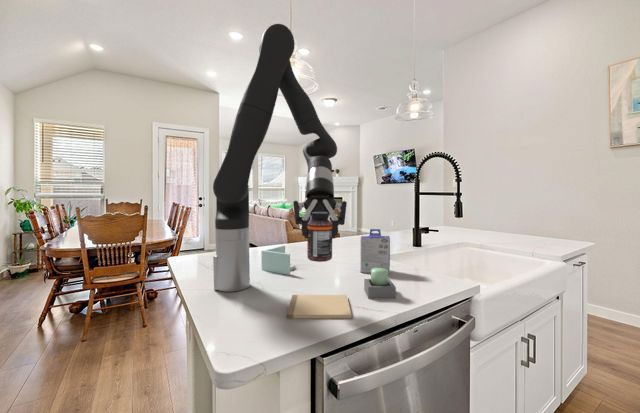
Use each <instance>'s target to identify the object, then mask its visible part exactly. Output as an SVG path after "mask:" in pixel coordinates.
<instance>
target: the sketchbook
mask: <svg viewBox="0 0 640 413" xmlns="http://www.w3.org/2000/svg"><path fill="white" fill-rule="evenodd" d="M289 301H290V302H289V305H288V310H287V313H286V319H352V311H351V307H350V304H349V300H348V294H292V295H291V299H290V300H289Z"/></svg>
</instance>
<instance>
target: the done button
mask: <svg viewBox="0 0 640 413" xmlns="http://www.w3.org/2000/svg"><path fill="white" fill-rule="evenodd" d="M388 275H389V274H388V270H387V269H385V268H372V269H371V273H370V279H371V283H372V284H374V285H387V284H388V279H389V276H388Z"/></svg>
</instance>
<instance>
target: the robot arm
mask: <svg viewBox="0 0 640 413" xmlns="http://www.w3.org/2000/svg"><path fill="white" fill-rule="evenodd" d="M295 46H296V44H295V38H294V35H293V32H292V30H291V29H289V27H288V26H286V25H285V24H282V23H274V24H271V25H270V26H268V27H267V28H266V29H265V30H264V31H263V33H262V36H261V40H260V41H259V47H258V51H259V56H258V59H257V63H256V66H255V69H254V72H253V74H252V76H251V78H250V79H249V82H248V85H247V87H246V89H245V90H244V93H243V96H242V98H241V100H240V104H239V107H238V109H237V112H236V116H235V119H234V122H233V125H232V126H233V127H232V130H231V134H230V139H229V144H228V147H227V148H228V149H227V151H226V153H225V156H224V158H223V161H222V163H221V165H220V167H219V169H218V171H217V174H216V176H215V178H214V179H213V184H212V190H213V193H214V194H213V195H214V196H215V198H216V199H215V200H216V204H215V206H216V210H215V220H214V224H215V226H214V227H215V228H214V229H215V230H214V232H215V233H214V234H215V255H213V257H212V258H213V259H212V260H213V264H212V265H213V266H212V267H213V290H214V291H220V292H225V293H226V292H229V293H232V292H237V291H243V290H245V289H247V288H249V287H250V286H251V277H250V276H251V275H250V274H251V272H250V268H251V267H250V266H251V264H250V197H249V196H250V189H249V188H250V187H249V182H250V174H251V173H252V172H251V171H252V167H253V163H254V160H255V158H256V155H257V153H258V152H259V149H260V148H261V146H262V144H263V142H264V140H265V138H266V135H267V133H268V130H269V127H270V124H271V120H272V117H273V114H274V110H275V106H276V103H277V98H278V94H279V90H280V92H281V94H282V96H283V98H284V100H285V103H287V104H286V105H287V107H288V108H289V110H290V113H291V116H292V117H293V121H294V123H295V125H296V126H297V129H298V131H299V134H301V135H302V136H306V135H312V134H314V135H316V136H317V137H318V138H316V139H314V140H312V141H309V142H308V143H306V144H305V145H304V146H303V149H302V153H303V154H302V155H303V157H304V158H305V161H306V164H307V178H306V180H305V181H306V184H305V199H304V201H303V202H299V201H298V200H294V201H293V202H292V203H293V212H294V224H295V225H301V235H302V237H304V239H307V230H308V222H310V221H311V219H312V212H328V220H329V221H330V222H331V223H332V239H336V237H338V235H339V226H340V225H341V226H343V225H345V220H346V213H347V205H348V204H347V201H346V200H343V201H342V202H337V201H336V199H335V188H334V187H335V184H334V177H333V166H332V165H333V164H332V161H331V160H330V159H332V158H334V157H335V156H336V155H337V152H338V145H337V143H336V140H334V139H333V137H332V136H331V135H330V133H329V132H328V131H327V130H326V129H325V127H324V125H323V124H322V121H321V120H320V118H319V115H318V113H317V110H316V109H315V107H314V104H313V102H312V100H311V98H310V96H309V95H308V94H307V93H306V91H305V90H304V89H303V87H302V85H301V83H300V82H299V81H298V79H297V78H296V75H295V74H294V70H293V66H292V65H291V64H292V62H291V60H290V59H291V57H292V56H293V54H294V51H295ZM336 208H337V210H338V211H339V213H340V215H339V217H338V216H337V215H336V212H335V211H334V210H336ZM302 209H305V213H304V214H303V216H300V213H301V211H302Z"/></svg>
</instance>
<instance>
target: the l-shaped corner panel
mask: <svg viewBox="0 0 640 413" xmlns="http://www.w3.org/2000/svg"><path fill="white" fill-rule="evenodd" d="M260 258H261V270H262V271H265V272H271V273H276V274H281V275H287V276H289V275H291V272H292V271H295V269H296V265H295V264H294V263H293V262H292V263H291V253H286V245H282V244H281V245H279V246H274V247H271V248H268V249H262V250H261V257H260Z"/></svg>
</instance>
